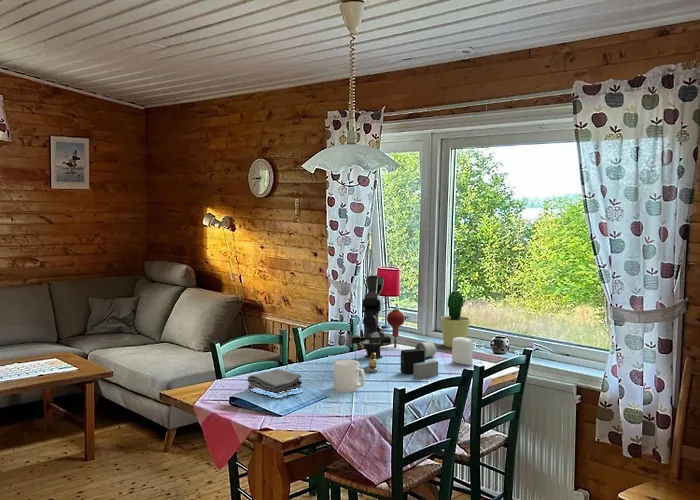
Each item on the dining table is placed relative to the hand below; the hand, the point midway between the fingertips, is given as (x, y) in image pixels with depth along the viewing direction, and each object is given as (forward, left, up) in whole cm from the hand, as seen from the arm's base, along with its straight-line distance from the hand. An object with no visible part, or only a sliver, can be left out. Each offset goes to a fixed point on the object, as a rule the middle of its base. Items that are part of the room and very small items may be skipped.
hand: (369, 358), depth 313 cm
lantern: (-26, +39, -5) cm, 47 cm away
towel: (+10, -56, -5) cm, 57 cm away
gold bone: (+3, 0, -2) cm, 4 cm away
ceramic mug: (-1, +36, -5) cm, 36 cm away
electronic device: (+18, +10, -5) cm, 21 cm away
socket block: (+27, +10, -4) cm, 29 cm away
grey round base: (+7, -4, -4) cm, 9 cm away
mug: (+23, -30, -5) cm, 38 cm away
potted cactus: (-11, +68, -5) cm, 69 cm away
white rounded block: (+19, +41, -5) cm, 46 cm away
